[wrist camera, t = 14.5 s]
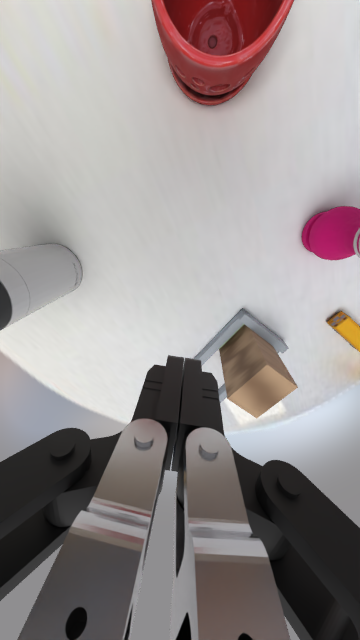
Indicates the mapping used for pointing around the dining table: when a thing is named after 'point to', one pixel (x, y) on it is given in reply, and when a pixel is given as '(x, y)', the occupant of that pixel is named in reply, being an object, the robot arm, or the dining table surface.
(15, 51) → the dining table surface
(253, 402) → the walnut block
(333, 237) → the pepper mill
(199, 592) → the robot arm
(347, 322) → the toy bus
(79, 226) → the dining table surface
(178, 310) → the dining table surface
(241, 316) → the trap channel
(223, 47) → the plant pot
